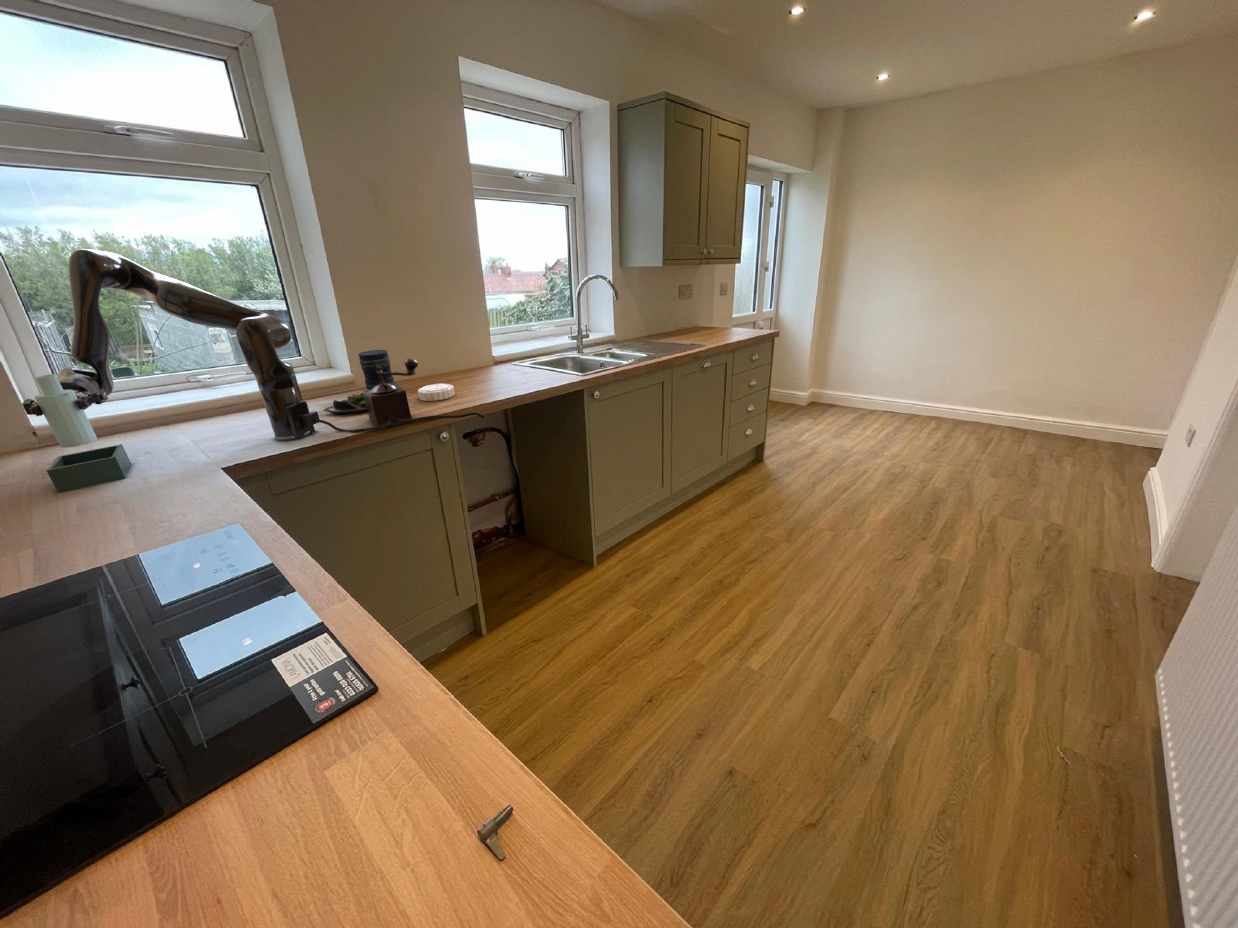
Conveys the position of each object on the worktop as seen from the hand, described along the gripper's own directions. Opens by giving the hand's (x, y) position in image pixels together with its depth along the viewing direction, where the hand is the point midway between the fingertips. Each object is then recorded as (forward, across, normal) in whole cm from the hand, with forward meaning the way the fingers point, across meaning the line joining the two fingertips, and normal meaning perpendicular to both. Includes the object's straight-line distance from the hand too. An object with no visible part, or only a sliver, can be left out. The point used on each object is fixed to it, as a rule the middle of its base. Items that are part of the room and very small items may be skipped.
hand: (58, 408), depth 113 cm
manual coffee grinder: (+3, +70, +18) cm, 72 cm away
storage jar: (-35, +74, +18) cm, 84 cm away
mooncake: (-14, +87, +18) cm, 90 cm away
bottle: (-2, 0, +9) cm, 9 cm away
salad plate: (-19, +62, +18) cm, 68 cm away
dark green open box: (-2, 0, +18) cm, 18 cm away
